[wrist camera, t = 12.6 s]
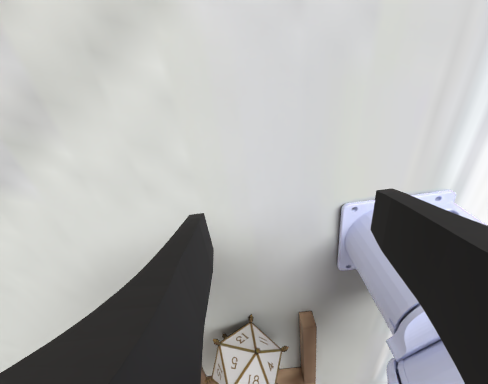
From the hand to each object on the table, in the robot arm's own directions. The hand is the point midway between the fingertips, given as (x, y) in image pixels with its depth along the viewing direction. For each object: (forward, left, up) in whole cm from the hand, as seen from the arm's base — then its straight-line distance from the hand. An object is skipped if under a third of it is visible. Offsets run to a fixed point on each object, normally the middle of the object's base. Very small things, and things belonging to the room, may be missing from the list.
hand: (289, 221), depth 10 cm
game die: (+5, +23, -10) cm, 26 cm away
